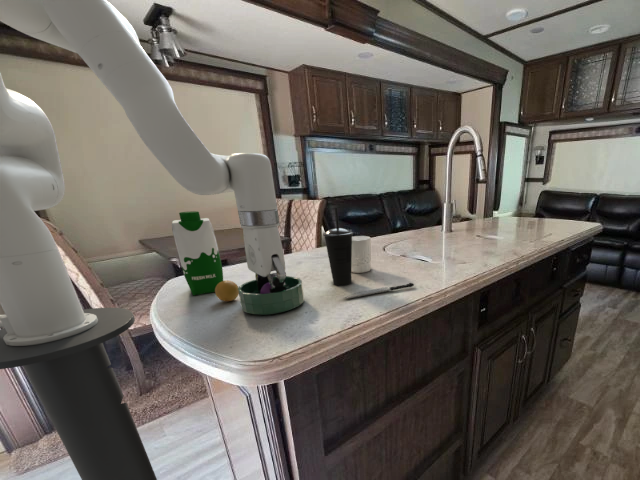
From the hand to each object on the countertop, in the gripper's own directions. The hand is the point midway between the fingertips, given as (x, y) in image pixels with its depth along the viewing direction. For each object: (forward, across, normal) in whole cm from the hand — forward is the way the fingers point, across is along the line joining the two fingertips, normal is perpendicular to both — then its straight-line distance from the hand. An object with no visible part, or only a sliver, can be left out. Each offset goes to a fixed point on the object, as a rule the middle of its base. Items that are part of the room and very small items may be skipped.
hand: (273, 299), depth 71 cm
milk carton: (+2, -24, -8) cm, 25 cm away
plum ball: (-2, 0, 0) cm, 2 cm away
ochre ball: (-1, -11, -6) cm, 13 cm away
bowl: (+1, 0, 0) cm, 1 cm away
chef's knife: (+1, +10, +22) cm, 25 cm away
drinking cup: (+2, -3, +20) cm, 21 cm away
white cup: (+1, -10, +32) cm, 33 cm away
